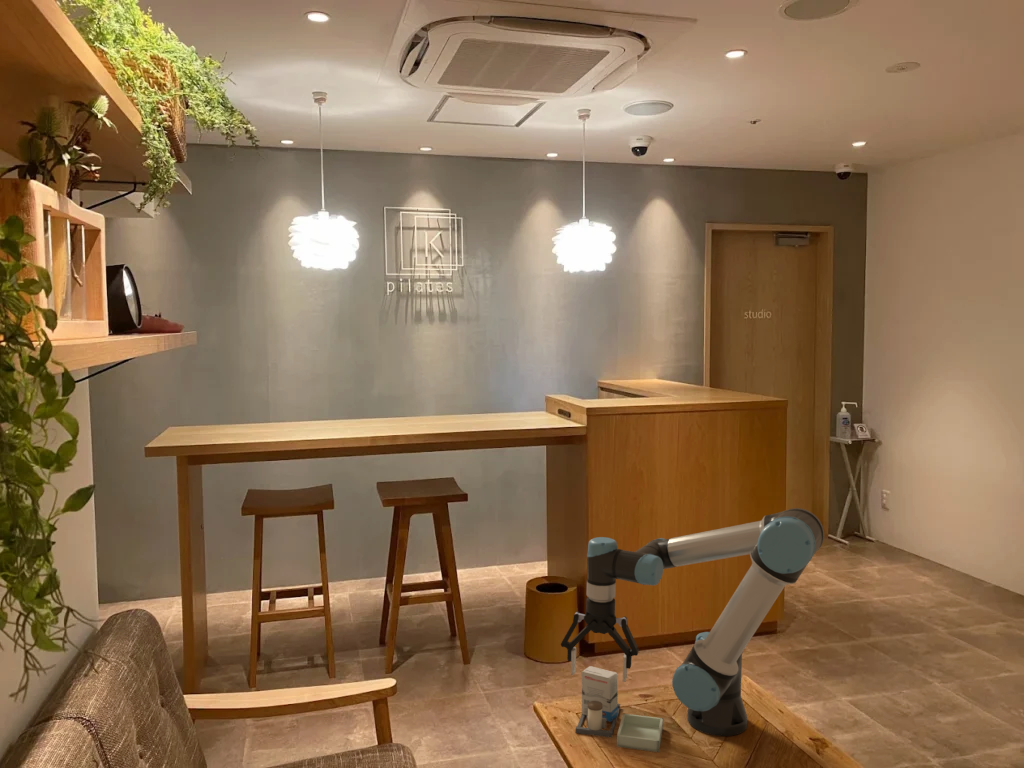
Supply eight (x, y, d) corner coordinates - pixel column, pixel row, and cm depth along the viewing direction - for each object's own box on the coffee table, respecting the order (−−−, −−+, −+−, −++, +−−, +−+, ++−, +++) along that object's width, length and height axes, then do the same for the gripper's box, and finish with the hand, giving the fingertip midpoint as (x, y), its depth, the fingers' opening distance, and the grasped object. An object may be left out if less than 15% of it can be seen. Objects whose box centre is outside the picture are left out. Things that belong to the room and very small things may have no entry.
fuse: (603, 728, 211) (603, 701, 210) (601, 736, 207) (601, 708, 206) (588, 727, 212) (588, 699, 211) (586, 734, 208) (586, 706, 207)
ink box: (618, 715, 217) (619, 671, 216) (610, 723, 212) (610, 678, 212) (589, 707, 221) (589, 664, 220) (580, 714, 217) (581, 671, 216)
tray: (662, 728, 211) (662, 718, 211) (658, 752, 199) (659, 741, 199) (622, 723, 213) (623, 713, 213) (616, 746, 202) (616, 735, 202)
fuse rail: (620, 708, 222) (620, 699, 222) (611, 737, 206) (611, 728, 206) (586, 704, 224) (586, 695, 224) (575, 732, 209) (575, 723, 208)
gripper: (650, 597, 215) (647, 676, 217) (556, 588, 221) (555, 664, 223) (647, 607, 208) (645, 688, 210) (551, 597, 214) (549, 676, 216)
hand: (598, 676), depth 216 cm, fingers open, 13 cm apart
